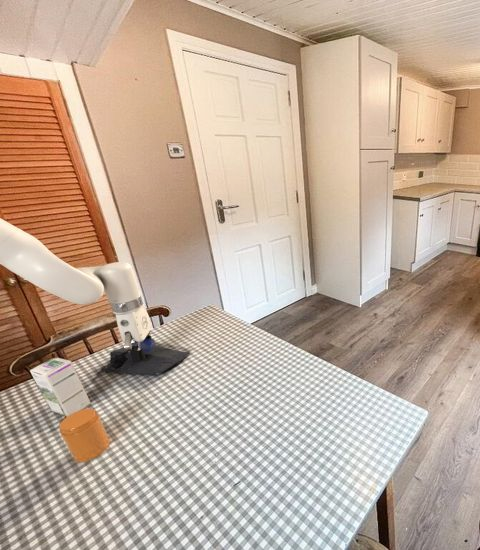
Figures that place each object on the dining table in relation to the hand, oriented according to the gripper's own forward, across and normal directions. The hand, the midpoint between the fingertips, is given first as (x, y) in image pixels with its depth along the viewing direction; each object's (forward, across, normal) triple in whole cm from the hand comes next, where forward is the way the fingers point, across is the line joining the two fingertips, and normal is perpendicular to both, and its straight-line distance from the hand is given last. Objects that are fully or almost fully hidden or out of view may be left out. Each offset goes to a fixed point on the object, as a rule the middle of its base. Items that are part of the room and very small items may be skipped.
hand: (143, 353), depth 96 cm
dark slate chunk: (+5, +1, 0) cm, 5 cm away
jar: (+4, -31, +2) cm, 31 cm away
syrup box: (+5, -15, +13) cm, 21 cm away
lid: (-3, 0, 0) cm, 3 cm away
